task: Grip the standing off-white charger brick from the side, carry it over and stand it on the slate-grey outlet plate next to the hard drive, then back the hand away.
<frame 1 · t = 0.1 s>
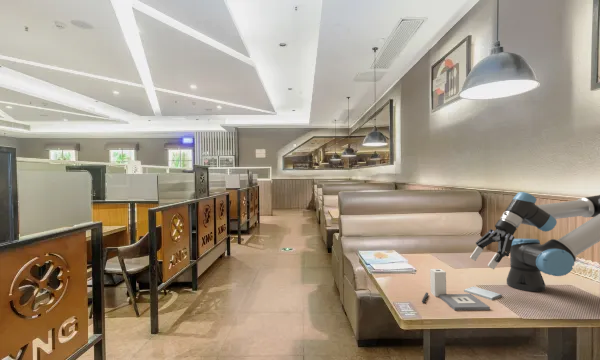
hand: (481, 263, 133), 15 cm above the table, tool tilted 35°, fingers open, 13 cm apart
dark grey rod: (425, 298, 133), on the table
outlet plate: (463, 303, 127), on the table
hard drive: (482, 295, 137), on the table
charger brick: (438, 294, 137), on the table
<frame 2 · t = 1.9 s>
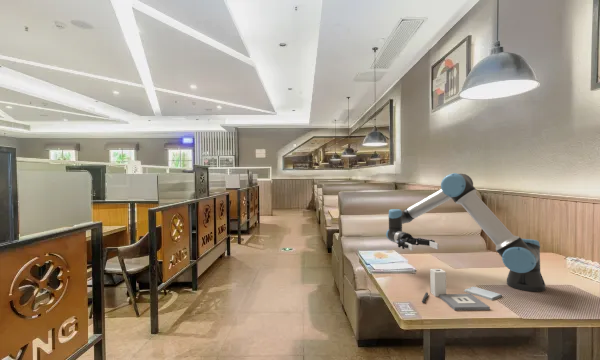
hand: (425, 247, 147), 20 cm above the table, tool horizontal, fingers open, 13 cm apart
nothing on the table moved.
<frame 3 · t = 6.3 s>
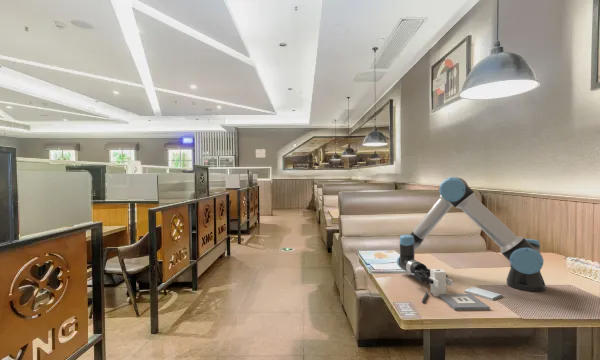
hand: (445, 283, 132), 7 cm above the table, tool horizontal, fingers closed on charger brick, 6 cm apart
charger brick: (438, 294, 138), on the table, touching gripper
everything else where it was.
when the fingers open (9 cm above the table, at t = 11.1 s): charger brick stays where it is, resting on outlet plate.
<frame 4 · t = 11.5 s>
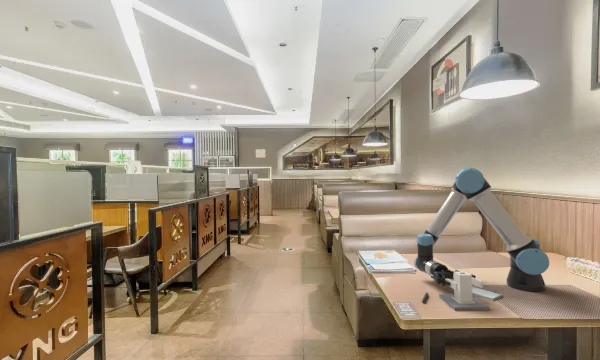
hand: (469, 285, 123), 9 cm above the table, tool horizontal, fingers open, 11 cm apart
charger brick: (463, 299, 127), point 2 cm above the table, touching outlet plate
everything else where it was.
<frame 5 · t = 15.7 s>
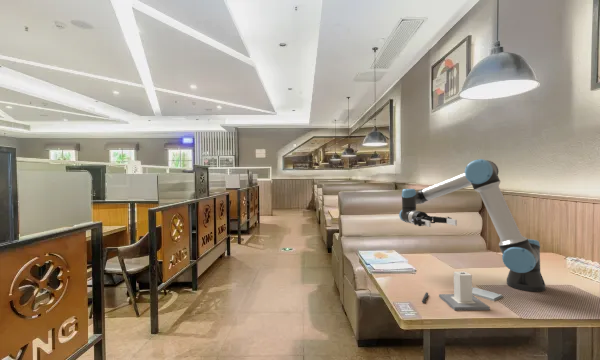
hand: (443, 223, 141), 32 cm above the table, tool horizontal, fingers open, 13 cm apart
at the end: charger brick inside the target area on the outlet plate (0.1 cm from its centre), point 1.6 cm above the outlet plate's base; charger brick tilted 0°; the gripper is holding nothing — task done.
